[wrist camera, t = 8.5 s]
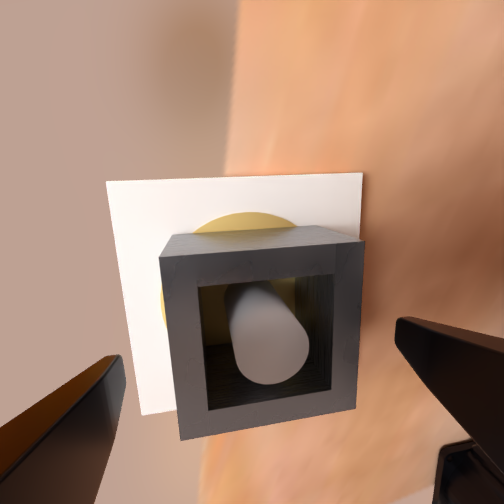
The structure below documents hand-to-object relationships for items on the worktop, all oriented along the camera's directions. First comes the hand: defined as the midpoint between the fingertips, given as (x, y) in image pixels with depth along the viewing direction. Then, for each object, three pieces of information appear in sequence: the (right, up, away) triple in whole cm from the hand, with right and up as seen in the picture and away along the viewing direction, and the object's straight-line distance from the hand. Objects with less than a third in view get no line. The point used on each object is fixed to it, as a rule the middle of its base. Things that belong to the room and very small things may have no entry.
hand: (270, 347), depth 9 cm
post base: (-1, +1, +5) cm, 5 cm away
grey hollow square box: (-1, +1, +4) cm, 4 cm away
